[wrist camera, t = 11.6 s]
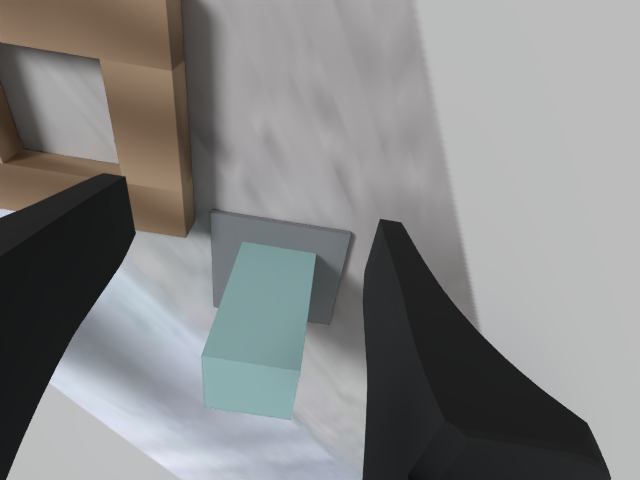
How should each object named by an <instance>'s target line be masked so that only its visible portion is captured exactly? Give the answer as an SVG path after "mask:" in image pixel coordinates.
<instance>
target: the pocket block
mask: <svg viewBox="0 0 640 480" xmlns="http://www.w3.org/2000/svg"><path fill="white" fill-rule="evenodd" d="M0 42H1V43H7V44H13V45H19V46H25V47H31V48H37V49H43V50H49V51H55V52H61V53H67V54H73V55H79V56H85V57H91V58H97V59H99V60H100V65H101V71H102V76H103V81H104V86H105V92H106V97H107V102H108V107H109V113H110V118H111V123H112V128H113V134H114V139H115V144H116V149H117V155H118V160H119V164H113V163H107V162H101V161H94V160H88V159H82V158H76V157H70V156H63V155H57V154H51V153H45V152H39V151H33V150H26V149H23V147H22V144H21V141H20V138H19V135H18V132H17V129H16V126H15V124H14V121H13V118H12V115H11V112H10V109H9V106H8V103H7V101H6V98H5V95H4V92H3V89H2V86H1V83H0V209H6V210H13V211H18V210H21V209H23V208H25V207H28V206H30V205H32V204H35V203H37V202H39V201H41V200H43V199H46V198H48V197H50V196H52V195H54V194H56V193H59V192H61V191H63V190H65V189H67V188H69V187H72V186H74V185H76V184H78V183H80V182H83V181H85V180H87V179H89V178H92V177H94V176H97V175H99V174H102V173H108V174H114V175H120V176H126V181H127V187H128V193H129V198H130V204H131V210H132V215H133V221H134V226H135V230H139V231H146V232H152V233H158V234H165V235H171V236H177V237H184V238H186V237H187V235H188V233H189V231H190V229H191V228H192V226H193V224H194V222H195V211H194V196H193V181H192V166H191V150H190V135H189V120H188V104H187V89H186V74H185V59H184V43H183V28H182V13H181V0H0Z"/></svg>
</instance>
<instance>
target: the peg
mask: <svg viewBox="0 0 640 480" xmlns="http://www.w3.org/2000/svg"><path fill="white" fill-rule="evenodd" d="M315 258H316V254H315V253H309V252H303V251H297V250H291V249H285V248H279V247H272V246H266V245H260V244H254V243H248V242H242V244H241V247H240V250H239V253H238V255H237V258H236V261H235V264H234V266H233V269H232V272H231V275H230V278H229V280H228V283H227V286H226V289H225V292H224V294H223V297H222V300H221V303H220V306H219V308H218V311H217V314H216V317H215V320H214V322H213V325H212V328H211V331H210V333H209V336H208V339H207V342H206V345H205V347H204V350H203V353H202V356H201V358H202V374H203V389H204V405H205V407H207V408H213V409H220V410H227V411H233V412H240V413H247V414H253V415H260V416H267V417H273V418H280V419H287V420H291V416H292V411H293V406H294V401H295V396H296V391H297V386H298V381H299V376H300V371H301V363H302V356H303V348H304V341H305V333H306V326H307V318H308V311H309V303H310V296H311V288H312V281H313V273H314V266H315Z"/></svg>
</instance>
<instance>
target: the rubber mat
mask: <svg viewBox="0 0 640 480" xmlns="http://www.w3.org/2000/svg"><path fill="white" fill-rule="evenodd" d="M210 220H211V248H212V275H213V303H214V307H216V308H219V306H220V303H221V300H222V297H223V294H224V292H225V289H226V286H227V283H228V280H229V278H230V275H231V272H232V269H233V266H234V264H235V261H236V258H237V255H238V253H239V250H240V247H241V244H242V242H248V243H254V244H260V245H266V246H272V247H279V248H285V249H291V250H297V251H303V252H309V253H315V254H316V258H315V266H314V273H313V281H312V288H311V296H310V303H309V311H308V318H307V322H314V323H320V324H327V325H329V324H330V320H331V315H332V311H333V307H334V303H335V299H336V294H337V290H338V286H339V282H340V278H341V274H342V269H343V265H344V261H345V257H346V253H347V248H348V244H349V240H350V236H351V232H349V231H343V230H336V229H330V228H324V227H318V226H311V225H305V224H299V223H293V222H286V221H280V220H274V219H268V218H261V217H255V216H249V215H243V214H236V213H230V212H224V211H218V210H211V212H210Z"/></svg>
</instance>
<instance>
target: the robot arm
mask: <svg viewBox="0 0 640 480" xmlns="http://www.w3.org/2000/svg"><path fill="white" fill-rule="evenodd" d="M135 234H136V232H135V226H134V221H133V215H132V210H131V204H130V198H129V193H128V187H127V181H126V176H120V175H114V174H108V173H102V174H99V175H97V176H94V177H92V178H89V179H87V180H85V181H83V182H80V183H78V184H76V185H74V186H72V187H69V188H67V189H65V190H63V191H61V192H59V193H56V194H54V195H52V196H50V197H48V198H46V199H43V200H41V201H39V202H37V203H35V204H32V205H30V206H28V207H25V208H23V209H21V210H18V211H16V212H13V213H11V214H9V215H6V216H4V217H1V218H0V480H6V478H7V476H8V473H9V471H10V468H11V466H12V463H13V461H14V459H15V456H16V454H17V451H18V449H19V446H20V444H21V442H22V439H23V437H24V435H25V432H26V430H27V428H28V426H29V423H30V421H31V419H32V417H33V415H34V413H35V410H36V408H37V405H38V404H39V402H40V399H41V397H42V395H43V393H44V391H45V389H46V387H47V385H48V383H49V381H50V379H51V377H52V375H53V373H54V371H55V369H56V367H57V365H58V363H59V361H60V359H61V358H62V356H63V354H64V352H65V350H66V348H67V346H68V344H69V342H70V341H71V339H72V337H73V335H74V334H75V332H76V331H77V329H78V327H79V326H80V324H81V323H82V321H83V320H84V318H85V317H86V315H87V314H88V312H89V311H90V309H91V308H92V307H93V305H94V304H95V302H96V301H97V299H98V298H99V296H100V295H101V293H102V292H103V290H104V289H105V288H106V286H107V285H108V283H109V282H110V280H111V279H112V277H113V276H114V274H115V273H116V271H117V270H118V268H119V267H120V265H121V263H122V262H123V260H124V258H125V256H126V254H127V252H128V250H129V248H130V245H131V243H132V241H133V239H134V236H135ZM363 314H364V330H365V345H366V360H367V408H366V430H365V450H364V466H363V480H611V477H610V474H609V470H608V468H607V465H606V463H605V461H604V458H603V456H602V454H601V451H600V449H599V446H598V444H597V442H596V440H595V438H594V436H593V434H592V431H591V430H590V428H589V426H588V424H587V423H586V422H585V421H584V420H582V419H581V418H580V417H578V416H577V415H576V414H574V413H573V412H572V411H570V410H569V409H567V408H566V407H565V406H563V405H562V404H561V403H559V402H558V401H557V400H555V399H554V398H553V397H551V396H550V395H548V394H547V393H546V392H545V391H543V390H542V389H541V388H540V387H538V386H537V385H536V384H535V383H533V382H532V381H531V380H530V379H529V378H528V377H526V376H525V375H524V374H523V373H522V372H520V371H519V370H518V369H517V368H516V367H515V366H514V365H512V364H511V363H510V362H509V361H508V360H507V359H505V357H504V356H502V355H501V354H500V353H499V352H498V351H497V350H496V349H495V348H494V347H493V346H492V345H491V344H490V343H489V342H488V341H487V340H486V339H485V338H484V337H483V336H482V335H481V334H480V333H479V332H478V331H477V330H476V329H475V328H474V326H473V325H472V324H471V323H470V322H469V321H468V320H467V318H466V317H465V316H464V315H463V314H462V313H461V312H460V311H459V309H458V308H457V307H456V306H455V304H454V303H453V302H452V301H451V299H450V298H449V297H448V295H447V294H446V293H445V291H444V290H443V289H442V287H441V286H440V285H439V283H438V282H437V280H436V279H435V277H434V276H433V274H432V273H431V271H430V270H429V268H428V267H427V265H426V263H425V262H424V260H423V259H422V257H421V255H420V254H419V252H418V250H417V249H416V247H415V245H414V243H413V242H412V240H411V238H410V236H409V235H408V233H407V231H406V229H405V228H404V226H403V224H402V223H401V222H395V221H389V220H383V219H380V221H379V224H378V228H377V231H376V234H375V238H374V241H373V244H372V248H371V251H370V255H369V258H368V261H367V265H366V268H365V273H364V288H363Z"/></svg>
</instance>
